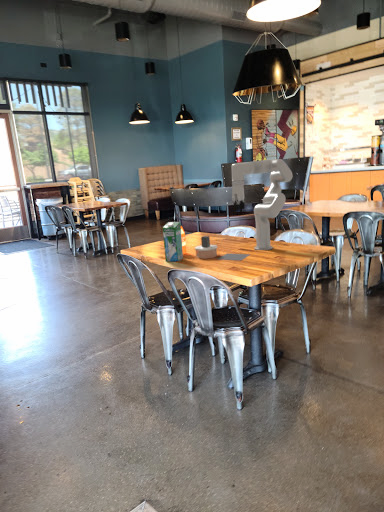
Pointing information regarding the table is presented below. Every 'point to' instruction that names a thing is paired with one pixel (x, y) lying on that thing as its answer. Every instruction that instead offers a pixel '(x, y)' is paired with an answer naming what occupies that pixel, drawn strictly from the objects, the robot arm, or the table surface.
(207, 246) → the lid
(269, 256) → the table surface
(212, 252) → the bowl
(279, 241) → the table surface
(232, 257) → the mat
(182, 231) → the orange juice
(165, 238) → the milk carton
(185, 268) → the table surface
